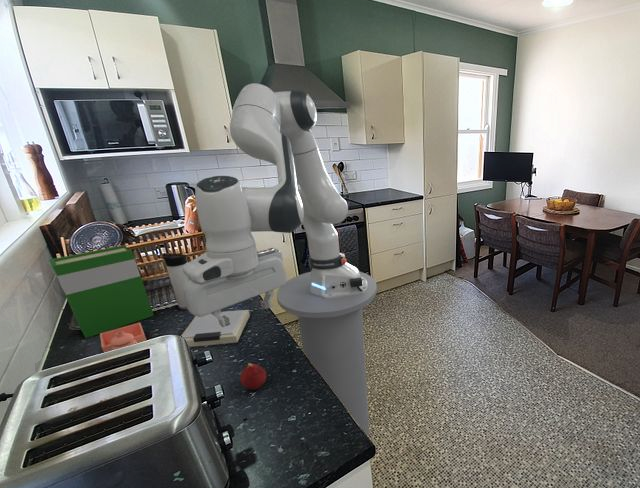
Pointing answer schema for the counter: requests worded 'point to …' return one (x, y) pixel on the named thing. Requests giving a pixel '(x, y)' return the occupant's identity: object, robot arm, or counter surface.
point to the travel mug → (177, 276)
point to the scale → (215, 329)
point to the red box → (122, 337)
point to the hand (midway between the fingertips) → (246, 316)
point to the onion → (253, 376)
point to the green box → (103, 289)
